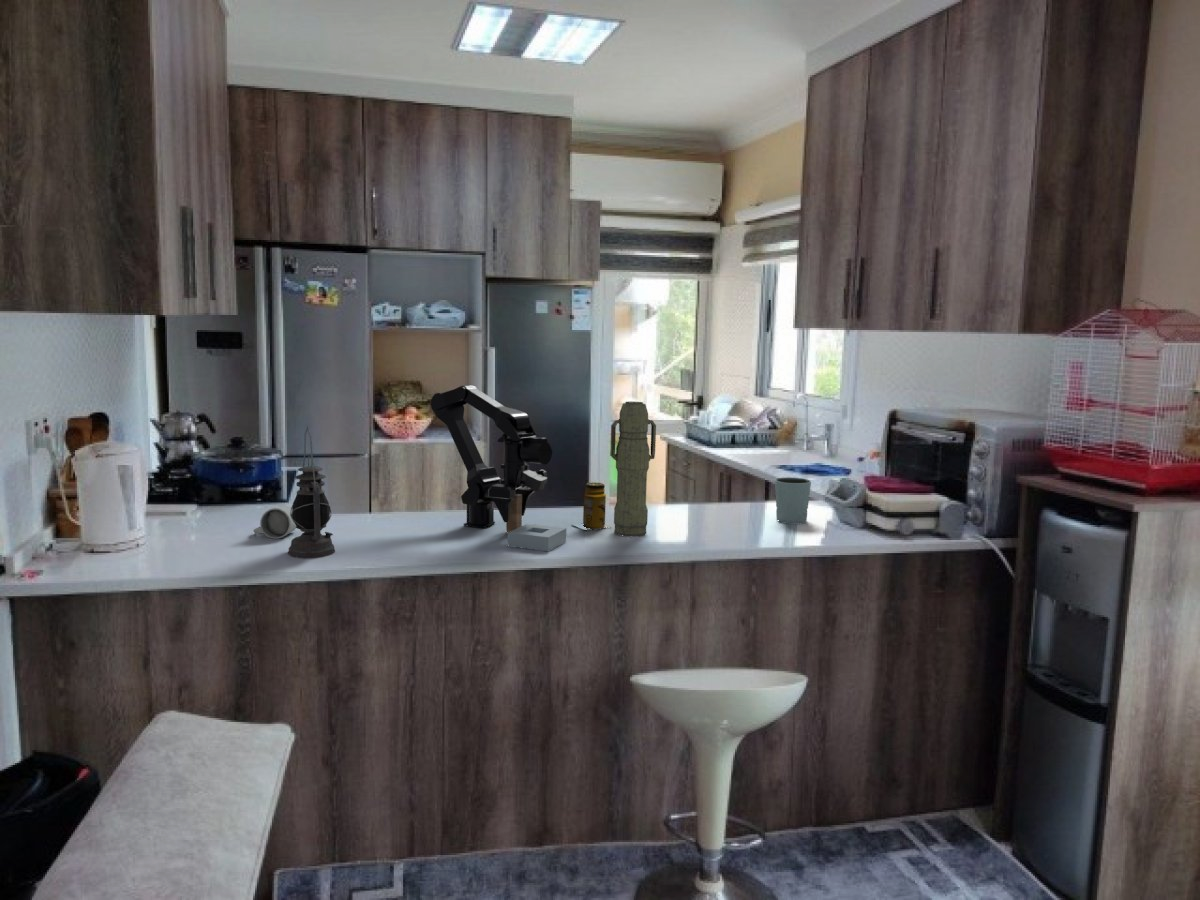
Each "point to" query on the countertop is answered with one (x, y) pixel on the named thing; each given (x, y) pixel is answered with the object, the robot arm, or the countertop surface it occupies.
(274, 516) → the ceramic mug
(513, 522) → the peg
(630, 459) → the thermos
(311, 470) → the lantern
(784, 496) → the grey cup
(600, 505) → the condiment
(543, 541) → the holder
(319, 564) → the countertop surface
